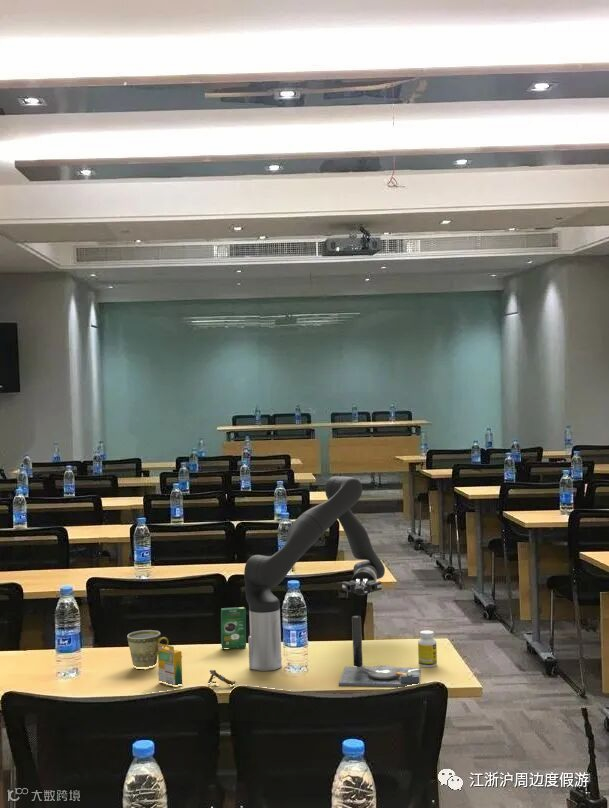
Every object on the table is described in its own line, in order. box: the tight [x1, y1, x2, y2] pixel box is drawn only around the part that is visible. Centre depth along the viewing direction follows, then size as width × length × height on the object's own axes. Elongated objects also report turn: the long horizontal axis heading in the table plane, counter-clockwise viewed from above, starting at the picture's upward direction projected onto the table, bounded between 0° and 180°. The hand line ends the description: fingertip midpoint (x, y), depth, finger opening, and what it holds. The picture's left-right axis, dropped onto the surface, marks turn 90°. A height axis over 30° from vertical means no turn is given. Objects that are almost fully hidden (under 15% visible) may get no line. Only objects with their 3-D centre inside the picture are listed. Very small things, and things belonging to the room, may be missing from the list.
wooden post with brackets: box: [207, 669, 237, 685], centre depth 239 cm, size 2×8×4 cm, turn 70°
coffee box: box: [220, 606, 247, 649], centre depth 278 cm, size 8×3×13 cm, turn 103°
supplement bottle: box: [417, 629, 438, 668], centre depth 252 cm, size 5×5×10 cm
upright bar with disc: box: [351, 615, 407, 679], centre depth 242 cm, size 18×9×15 cm, turn 51°
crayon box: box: [157, 643, 183, 685], centre depth 242 cm, size 7×3×12 cm, turn 48°
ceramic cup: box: [126, 629, 170, 667], centre depth 260 cm, size 13×10×10 cm
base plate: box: [338, 666, 422, 688], centre depth 242 cm, size 22×15×4 cm
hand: (359, 591), depth 259 cm, fingers closed
